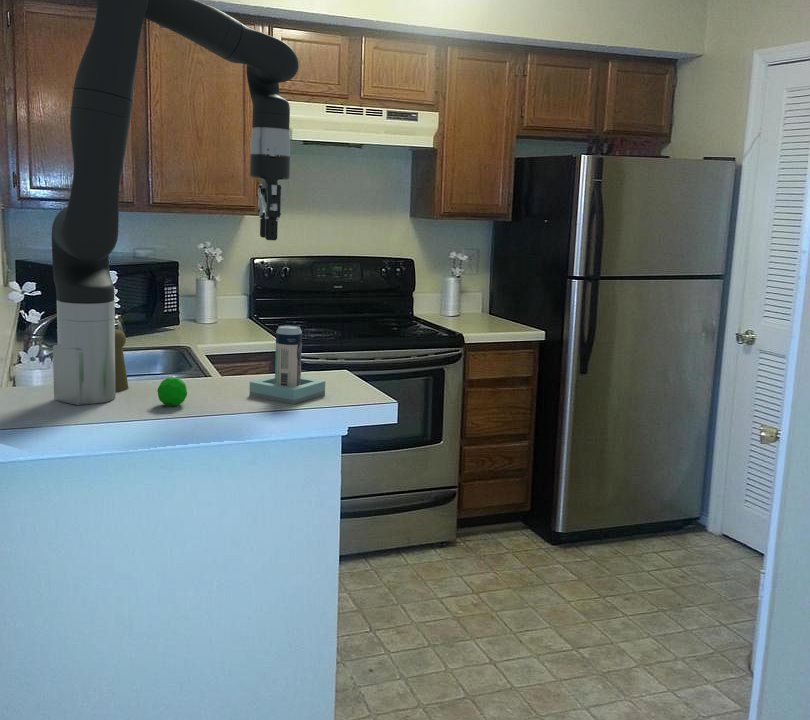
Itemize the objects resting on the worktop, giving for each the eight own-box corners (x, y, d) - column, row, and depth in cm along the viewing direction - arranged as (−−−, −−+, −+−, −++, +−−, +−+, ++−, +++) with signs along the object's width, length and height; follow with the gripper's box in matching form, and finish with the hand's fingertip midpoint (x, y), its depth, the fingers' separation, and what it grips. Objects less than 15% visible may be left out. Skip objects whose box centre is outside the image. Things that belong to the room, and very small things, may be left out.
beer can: (305, 392, 155) (306, 328, 153) (282, 394, 152) (283, 329, 150) (292, 386, 159) (294, 324, 156) (270, 389, 156) (271, 325, 154)
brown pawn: (134, 385, 156) (133, 328, 154) (120, 393, 150) (119, 333, 148) (103, 383, 156) (102, 325, 154) (87, 390, 150) (86, 330, 148)
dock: (293, 404, 149) (294, 390, 148) (249, 395, 153) (249, 381, 153) (324, 394, 157) (325, 381, 157) (282, 386, 162) (282, 373, 161)
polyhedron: (152, 407, 141) (152, 380, 141) (164, 400, 146) (163, 374, 145) (181, 409, 141) (181, 382, 140) (191, 403, 146) (191, 376, 145)
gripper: (246, 153, 165) (245, 236, 168) (254, 150, 151) (252, 240, 154) (284, 156, 167) (282, 237, 170) (295, 153, 154) (293, 241, 157)
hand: (268, 238), depth 162 cm, fingers open, 8 cm apart
